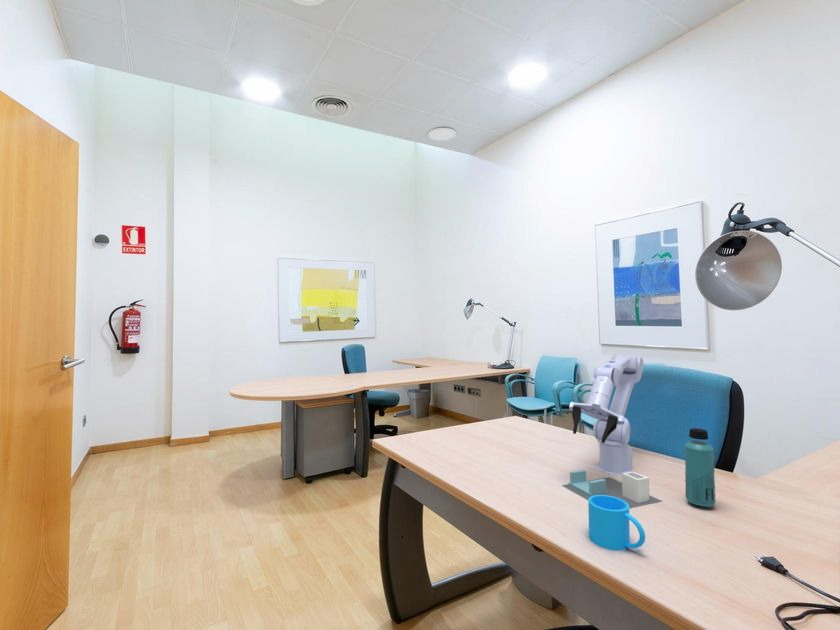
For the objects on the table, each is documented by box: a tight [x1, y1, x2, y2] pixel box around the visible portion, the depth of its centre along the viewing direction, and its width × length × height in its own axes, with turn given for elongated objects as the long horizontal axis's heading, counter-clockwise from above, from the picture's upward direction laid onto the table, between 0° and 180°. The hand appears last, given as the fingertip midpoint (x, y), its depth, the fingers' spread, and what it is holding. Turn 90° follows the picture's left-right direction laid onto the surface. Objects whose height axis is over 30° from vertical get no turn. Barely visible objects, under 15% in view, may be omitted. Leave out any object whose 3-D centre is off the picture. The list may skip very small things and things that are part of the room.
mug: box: [587, 495, 646, 551], centre depth 87 cm, size 12×8×8 cm
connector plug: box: [621, 471, 650, 503], centre depth 109 cm, size 4×5×6 cm
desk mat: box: [561, 476, 663, 509], centre depth 112 cm, size 18×18×1 cm
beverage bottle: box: [684, 427, 717, 508], centre depth 105 cm, size 6×7×20 cm
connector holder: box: [568, 469, 608, 497], centre depth 115 cm, size 6×8×4 cm
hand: (588, 436), depth 114 cm, fingers open, 7 cm apart
